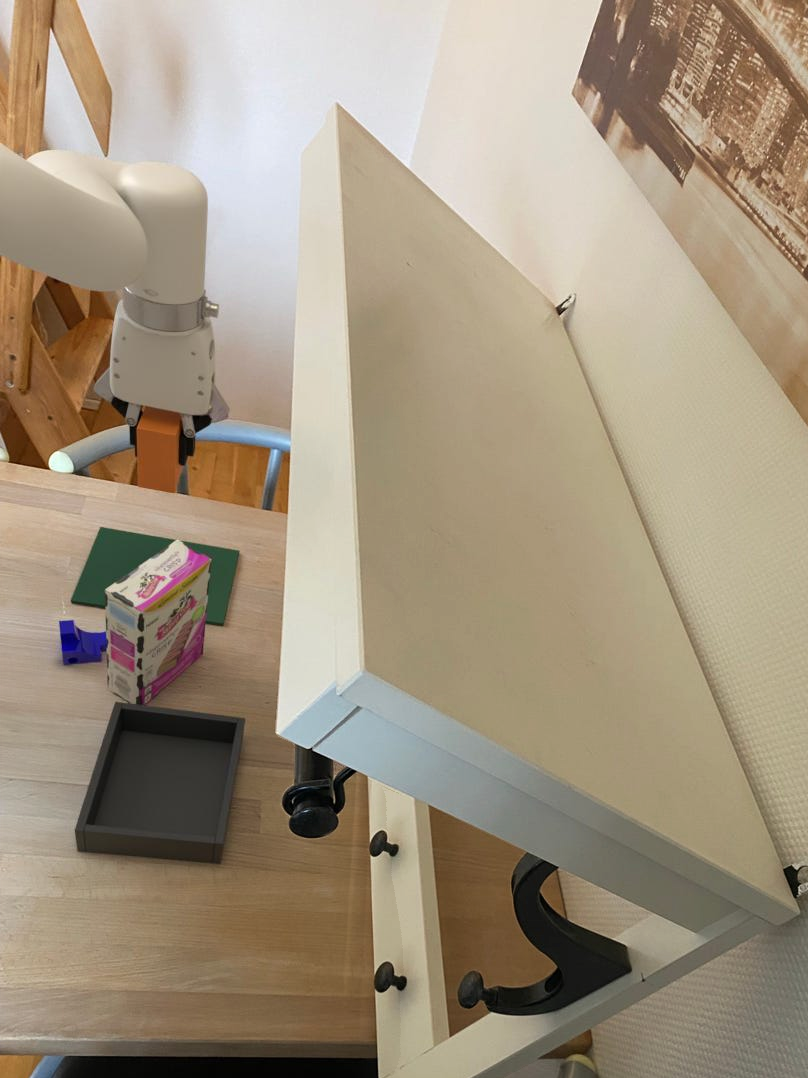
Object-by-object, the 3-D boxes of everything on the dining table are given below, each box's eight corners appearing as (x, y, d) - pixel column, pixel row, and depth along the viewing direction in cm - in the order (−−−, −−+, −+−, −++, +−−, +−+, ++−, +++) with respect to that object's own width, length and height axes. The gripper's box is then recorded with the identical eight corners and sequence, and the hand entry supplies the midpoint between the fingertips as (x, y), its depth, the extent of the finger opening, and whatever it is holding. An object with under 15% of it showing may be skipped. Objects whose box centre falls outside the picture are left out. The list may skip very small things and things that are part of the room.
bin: (77, 853, 83) (74, 830, 80) (116, 725, 93) (115, 701, 90) (220, 865, 86) (223, 844, 83) (242, 741, 97) (245, 717, 94)
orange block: (137, 487, 95) (136, 427, 90) (151, 451, 100) (150, 392, 95) (174, 493, 96) (175, 435, 91) (186, 457, 101) (188, 400, 95)
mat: (70, 603, 103) (70, 600, 103) (100, 529, 113) (100, 526, 112) (223, 626, 107) (223, 623, 107) (239, 553, 117) (239, 550, 116)
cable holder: (63, 667, 97) (61, 643, 94) (61, 644, 99) (58, 621, 96) (138, 659, 100) (138, 637, 97) (135, 638, 102) (134, 615, 99)
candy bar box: (142, 713, 95) (141, 613, 84) (106, 691, 96) (100, 589, 85) (206, 656, 103) (213, 557, 92) (173, 636, 104) (176, 535, 93)
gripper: (255, 306, 88) (242, 450, 101) (83, 266, 84) (93, 421, 97) (245, 341, 83) (233, 488, 96) (61, 300, 79) (75, 459, 92)
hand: (162, 453), depth 96 cm, fingers closed on orange block, 4 cm apart
